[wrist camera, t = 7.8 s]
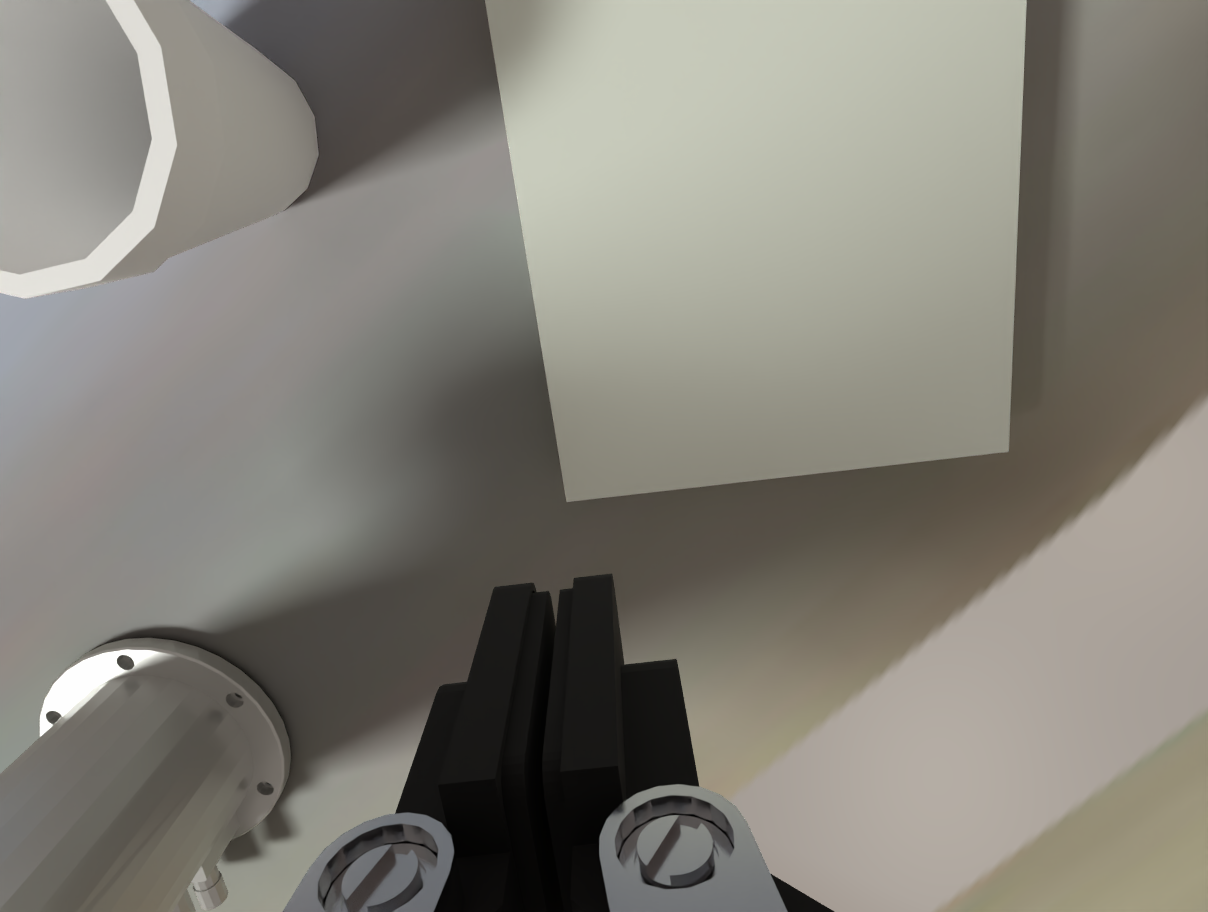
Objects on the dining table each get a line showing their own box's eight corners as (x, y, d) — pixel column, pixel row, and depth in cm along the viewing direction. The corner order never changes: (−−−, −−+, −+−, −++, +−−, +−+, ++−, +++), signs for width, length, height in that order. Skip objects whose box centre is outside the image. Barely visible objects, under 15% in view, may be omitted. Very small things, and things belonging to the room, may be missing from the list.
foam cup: (158, -48, 28) (-199, -232, 16) (390, 72, 29) (221, -14, 17) (98, 194, 31) (-244, 195, 19) (311, 295, 32) (118, 358, 20)
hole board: (976, 429, 33) (1008, 452, 31) (571, 476, 35) (566, 502, 32) (999, -481, 24) (1049, -573, 21) (437, -370, 25) (413, -442, 22)
